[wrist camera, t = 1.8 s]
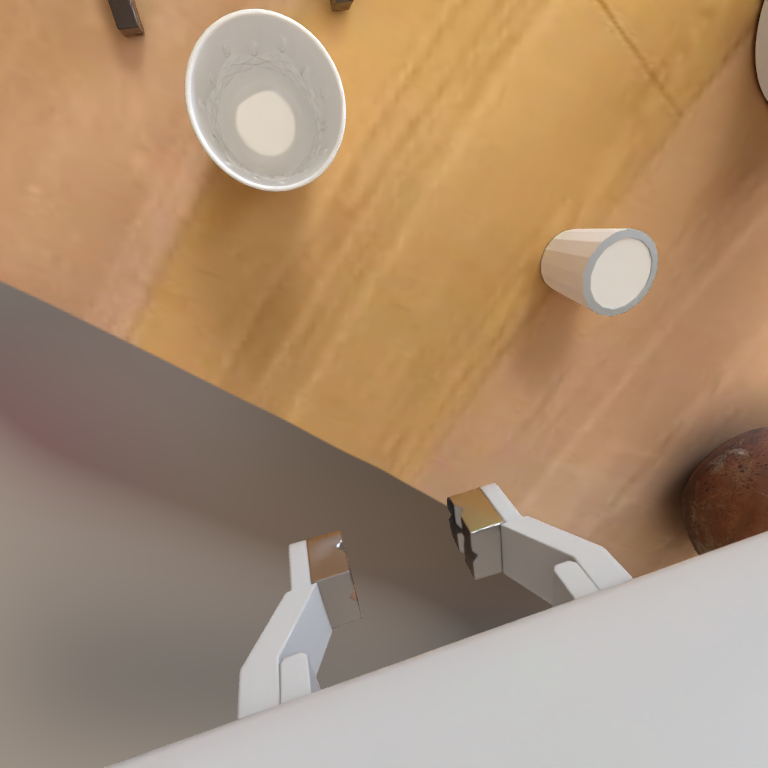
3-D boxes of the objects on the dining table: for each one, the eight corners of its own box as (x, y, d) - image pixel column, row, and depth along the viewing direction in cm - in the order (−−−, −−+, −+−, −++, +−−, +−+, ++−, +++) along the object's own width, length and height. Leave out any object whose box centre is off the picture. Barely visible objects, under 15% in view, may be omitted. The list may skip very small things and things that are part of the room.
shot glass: (521, 282, 41) (567, 299, 35) (559, 208, 39) (615, 213, 33) (575, 307, 43) (627, 328, 37) (613, 239, 41) (675, 249, 35)
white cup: (292, 210, 34) (303, 220, 25) (188, 148, 31) (158, 133, 22) (342, 109, 32) (373, 80, 23) (237, 32, 29) (225, -36, 20)
